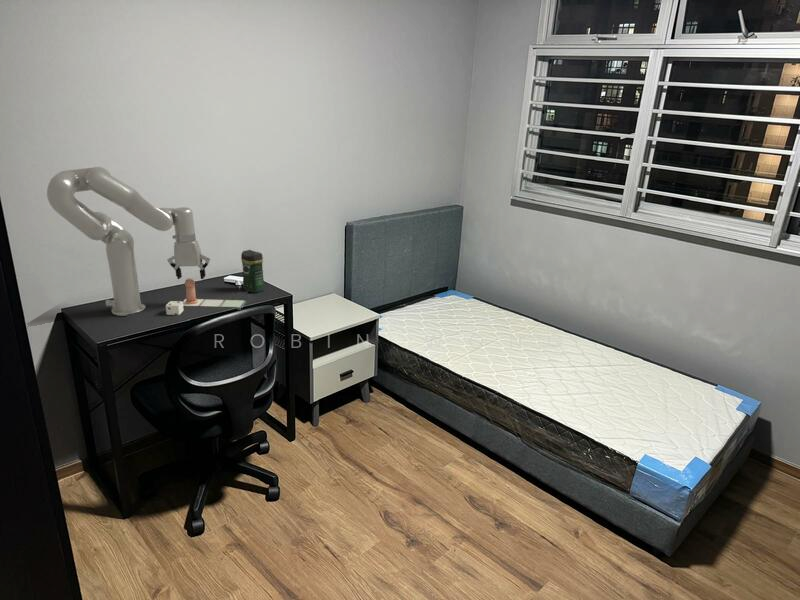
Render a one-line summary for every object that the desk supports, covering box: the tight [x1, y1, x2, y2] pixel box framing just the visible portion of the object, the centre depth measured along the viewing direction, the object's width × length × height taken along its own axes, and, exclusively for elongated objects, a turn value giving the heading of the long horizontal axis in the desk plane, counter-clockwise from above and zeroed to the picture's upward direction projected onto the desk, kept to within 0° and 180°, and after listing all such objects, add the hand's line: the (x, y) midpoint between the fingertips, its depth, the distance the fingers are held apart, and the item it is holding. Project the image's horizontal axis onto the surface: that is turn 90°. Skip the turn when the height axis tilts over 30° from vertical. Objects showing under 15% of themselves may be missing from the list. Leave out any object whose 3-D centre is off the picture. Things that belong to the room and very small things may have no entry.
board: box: [183, 298, 247, 311], centre depth 238 cm, size 26×9×1 cm, turn 91°
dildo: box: [184, 278, 198, 304], centre depth 236 cm, size 5×5×11 cm
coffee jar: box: [241, 249, 265, 294], centre depth 255 cm, size 10×8×19 cm
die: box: [165, 300, 185, 316], centre depth 226 cm, size 5×5×5 cm
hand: (191, 278), depth 234 cm, fingers open, 9 cm apart
